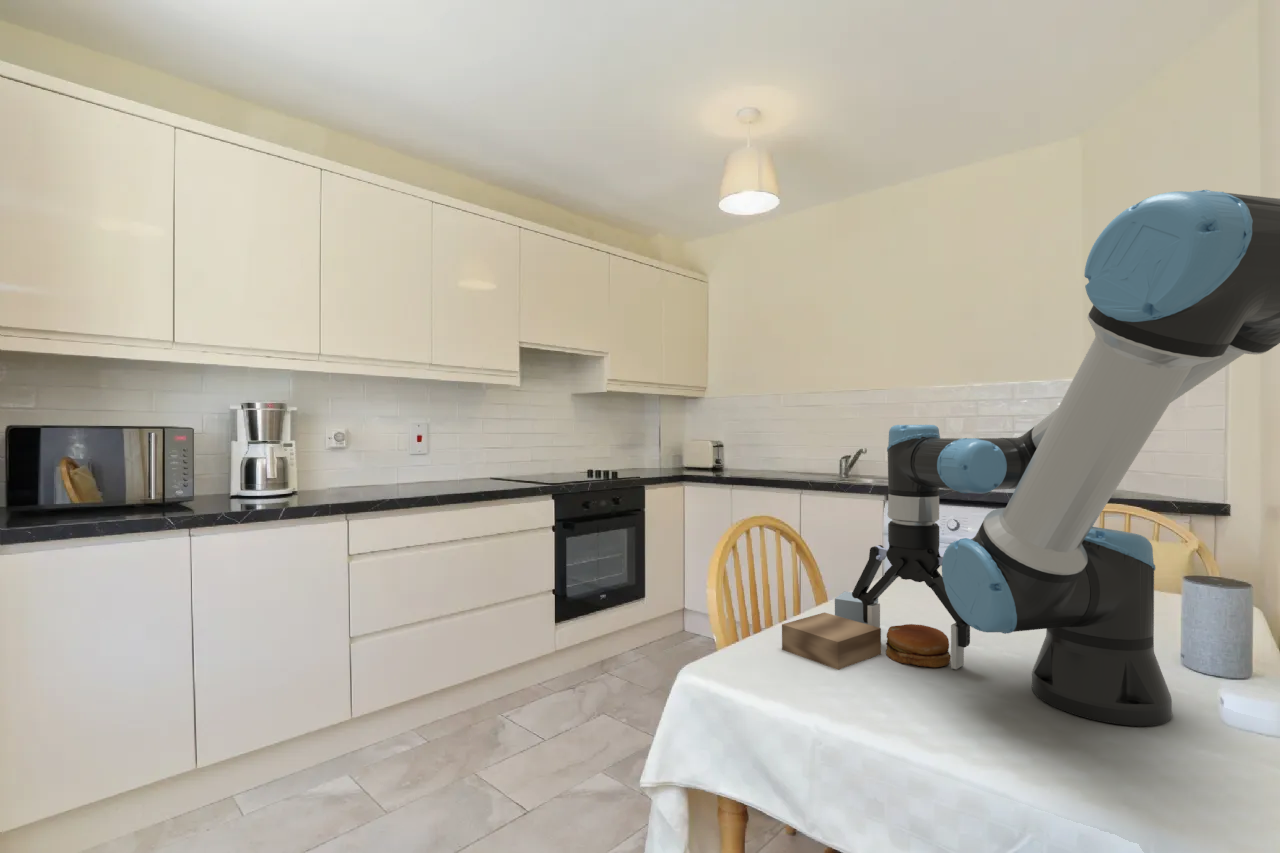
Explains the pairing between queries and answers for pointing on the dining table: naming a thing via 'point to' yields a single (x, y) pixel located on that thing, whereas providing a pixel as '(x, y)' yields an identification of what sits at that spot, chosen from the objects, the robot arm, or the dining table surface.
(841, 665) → the walnut block
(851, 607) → the slate cube
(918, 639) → the burger
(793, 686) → the dining table surface
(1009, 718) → the dining table surface
